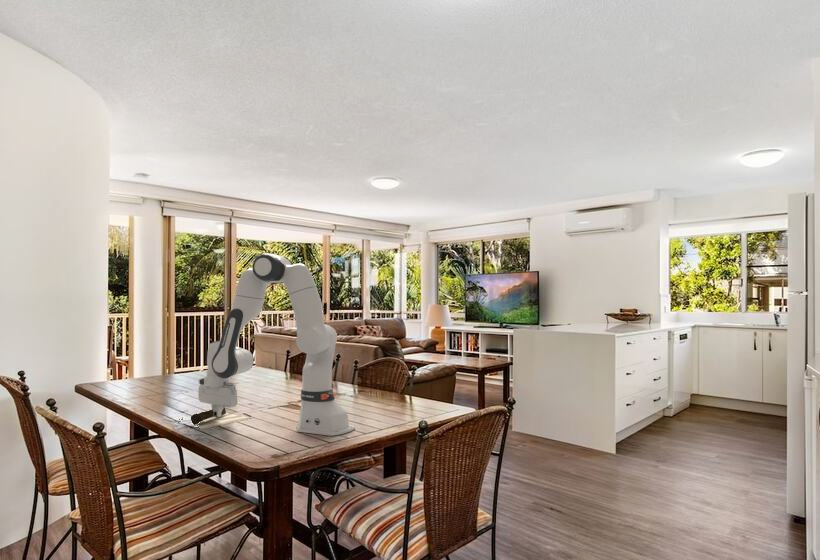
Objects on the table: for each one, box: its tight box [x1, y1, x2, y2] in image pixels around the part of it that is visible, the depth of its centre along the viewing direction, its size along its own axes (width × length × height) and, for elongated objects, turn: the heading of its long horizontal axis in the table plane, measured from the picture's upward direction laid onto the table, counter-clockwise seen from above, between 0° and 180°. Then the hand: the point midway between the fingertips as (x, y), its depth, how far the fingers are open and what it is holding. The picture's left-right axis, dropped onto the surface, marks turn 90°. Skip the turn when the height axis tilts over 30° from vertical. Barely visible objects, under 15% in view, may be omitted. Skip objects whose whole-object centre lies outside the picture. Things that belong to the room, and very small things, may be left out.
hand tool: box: [191, 407, 227, 425], centre depth 196 cm, size 19×4×5 cm, turn 163°
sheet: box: [179, 409, 252, 430], centre depth 199 cm, size 28×22×1 cm
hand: (217, 416), depth 195 cm, fingers closed
